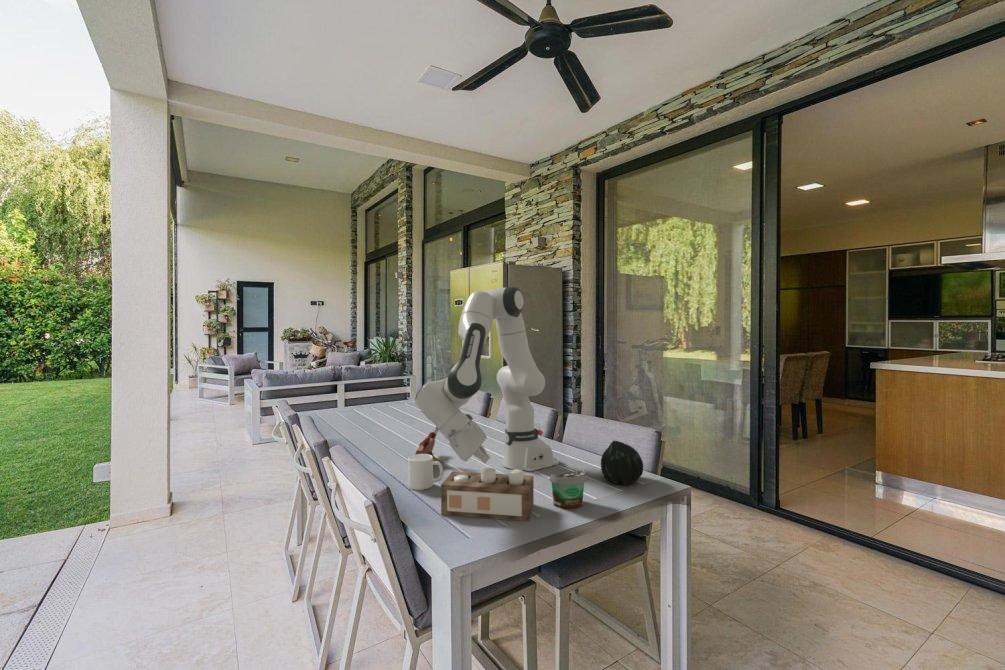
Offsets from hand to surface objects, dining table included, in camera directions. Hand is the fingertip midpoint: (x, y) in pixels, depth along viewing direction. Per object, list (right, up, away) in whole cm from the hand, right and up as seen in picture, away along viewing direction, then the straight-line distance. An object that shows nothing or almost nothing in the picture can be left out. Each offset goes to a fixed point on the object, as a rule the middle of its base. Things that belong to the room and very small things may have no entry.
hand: (487, 460), depth 139 cm
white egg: (-8, -11, +2) cm, 14 cm away
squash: (+47, -14, +24) cm, 54 cm away
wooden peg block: (0, -15, +1) cm, 15 cm away
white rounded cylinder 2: (+9, -8, -1) cm, 12 cm away
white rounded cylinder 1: (0, -8, 0) cm, 8 cm away
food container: (+26, -15, +2) cm, 30 cm away
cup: (-22, -15, +20) cm, 33 cm away
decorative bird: (-25, -14, +46) cm, 54 cm away
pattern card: (-1, -14, -6) cm, 15 cm away
